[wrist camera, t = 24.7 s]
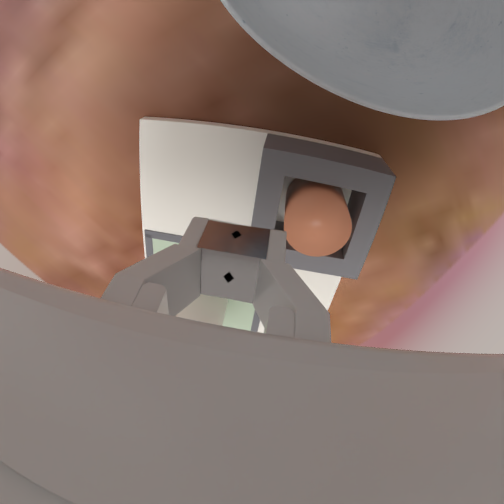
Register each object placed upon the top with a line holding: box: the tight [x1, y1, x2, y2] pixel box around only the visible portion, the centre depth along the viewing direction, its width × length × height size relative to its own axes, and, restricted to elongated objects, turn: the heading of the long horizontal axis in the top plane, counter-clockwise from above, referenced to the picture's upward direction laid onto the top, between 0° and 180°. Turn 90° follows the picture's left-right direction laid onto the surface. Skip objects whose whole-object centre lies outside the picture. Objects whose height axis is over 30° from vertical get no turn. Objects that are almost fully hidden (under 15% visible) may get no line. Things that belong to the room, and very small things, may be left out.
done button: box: [284, 178, 352, 257], centre depth 18 cm, size 4×4×4 cm
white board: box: [139, 117, 396, 333], centre depth 22 cm, size 18×15×4 cm
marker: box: [176, 294, 228, 326], centre depth 20 cm, size 4×4×12 cm
